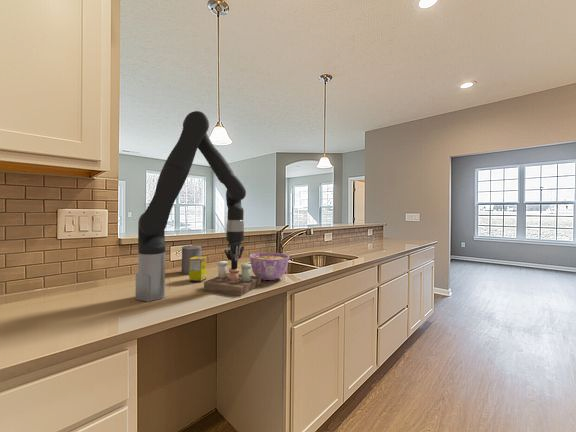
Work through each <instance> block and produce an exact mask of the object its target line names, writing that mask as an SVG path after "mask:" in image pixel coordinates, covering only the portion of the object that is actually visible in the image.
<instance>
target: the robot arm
mask: <svg viewBox="0 0 576 432" xmlns="http://www.w3.org/2000/svg"><path fill="white" fill-rule="evenodd" d="M209 128H210V122H209V118H208V117H207V115H206V114H205V113H204V112H202V111H198V110H195V111H191V112H189V113H188V114H186V117H185V118H184V120H183V122H182V131H181V133H180V136H179V139H178V140H177V142H176V144H175V145H174V147H173V148H172V150H171V151H170V153H169V155H168V156H167V158H166V160H165V162H164V164H163V167H162V169H161V171H160V174H159V176H158V179H157V182H156V187H155V191H154V195H153V197H152V199H151V201H150V203H149V204H148V206H147V208H146V209H145V211H144V212H143V213H142V214H141V215H140V216H139V218H138V223H137V224H138V227H137V228H138V230H137V231H138V232H137V234H138V237H137V242H138V243H137V246H138V247H137V248H138V249H137V250H138V253H137V254H138V255H137V256H138V257H137V258H138V261H137V263H138V265H137V273H136V274H135V300H137V301H143V302H147V303H148V302H151V301H156V300H159V299H160V300H161V299H163V298H164V297H165V293H166V292H165V291H166V289H165V288H166V286H165V285H166V241H165V239H166V238H165V237H166V236H165V232H166V231H165V230H166V227H167V225H168V222H169V218H170V214H171V211H172V208H173V206H174V203H175V202H176V201H177V197H178V196H179V194H180V193H181V190H182V188H183V186H184V184H185V182H186V181H187V177H188V176H189V174H190V171H191V168H192V166H193V162H194V161H195V157H196V153H197V150H198V151H199V152H200V153H201V154H202V156H203V157H204V159H205V160H206V162H207V163H208V165H209V166H210V168H211V169H212V172H213V173H214V175H215V176H216V178H217V179H218V181H219V182H220V183H221V184H223V185H224V186H225V187H224V188H226V191H225V201H226V207H227V216H226V217H227V220H226V231H225V232H226V233H225V234H226V235H225V236H226V237H225V240H226V241H227V242H228V244H227V249H224V254H225V256H226V258H227V259H228V260H229V261H230V263H231V265H230V268H231V269H234V270H235V269H237V268H238V261H239V260H240V259H241V257H242V255H243V252H244V250H245V246H242V242H243V241H244V236H245V235H244V234H245V231H244V230H245V224H244V223H245V221H244V215H245V214H244V207H242V200H243V199H245V197H246V195H247V191H246V189H245V186H244V185H243V183H242V181H240V179H239V178H238V177H237V176H236V175H235V174H234V171H233V169H232V168H231V166H230V164H229V163H228V161H227V160H226V159H225V157H224V156H223V155H222V154H221V152H220V151H219V150H218V149H217V148H216V147H215V146H214V144H213V143H212V141H211V139H210V137H209V135H208V131H209Z"/></svg>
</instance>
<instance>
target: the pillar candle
mask: <svg viewBox="0 0 576 432" xmlns="http://www.w3.org/2000/svg"><path fill="white" fill-rule="evenodd" d="M193 257H202V246H201V245H193V244H191V245H184V246H182V247H181V274H183V275H189V260H190V258H193Z"/></svg>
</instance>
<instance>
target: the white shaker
mask: <svg viewBox="0 0 576 432" xmlns="http://www.w3.org/2000/svg"><path fill="white" fill-rule="evenodd" d="M228 263H229V262H228V261H227V260H226V261H225V260H220V261H217V265H218V266H217V267H218V269H217V277H218V278H220V279H224V278H227V273H228Z"/></svg>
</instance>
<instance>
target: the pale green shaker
mask: <svg viewBox="0 0 576 432" xmlns="http://www.w3.org/2000/svg"><path fill="white" fill-rule="evenodd" d="M240 268H241V274H242V280H241V281H242V282H249V281H250V276H251V274H252V273H251V272H252V271H251V270H252V266H251V263H241V264H240Z"/></svg>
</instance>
